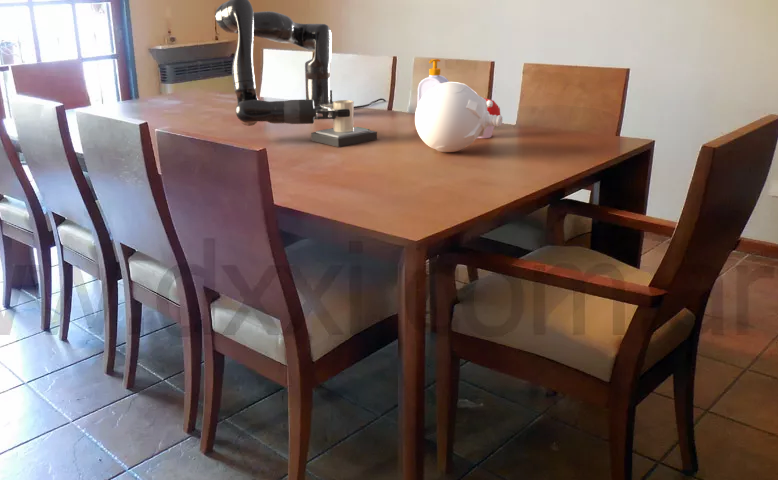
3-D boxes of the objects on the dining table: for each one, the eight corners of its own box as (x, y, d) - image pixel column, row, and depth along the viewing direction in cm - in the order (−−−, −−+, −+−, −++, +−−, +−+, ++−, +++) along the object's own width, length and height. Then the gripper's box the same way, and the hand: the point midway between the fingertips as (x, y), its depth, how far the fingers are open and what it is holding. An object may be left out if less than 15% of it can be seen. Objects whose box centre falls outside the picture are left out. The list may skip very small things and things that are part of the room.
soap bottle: (415, 131, 230) (417, 59, 220) (424, 127, 235) (427, 57, 225) (439, 133, 225) (442, 60, 215) (448, 129, 230) (452, 58, 221)
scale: (349, 133, 229) (349, 124, 228) (377, 139, 219) (377, 129, 218) (311, 140, 221) (311, 130, 219) (338, 147, 210) (338, 137, 209)
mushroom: (461, 133, 224) (463, 95, 219) (494, 132, 224) (497, 94, 219) (468, 140, 214) (470, 100, 209) (503, 138, 214) (506, 99, 209)
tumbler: (345, 127, 223) (344, 99, 219) (357, 130, 218) (357, 101, 214) (329, 130, 219) (329, 101, 215) (342, 133, 214) (341, 103, 211)
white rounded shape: (429, 142, 213) (432, 76, 205) (508, 149, 200) (515, 80, 192) (402, 155, 198) (404, 84, 190) (486, 163, 185) (492, 89, 177)
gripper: (296, 103, 209) (349, 102, 208) (300, 96, 222) (349, 95, 221) (297, 128, 212) (350, 126, 211) (300, 119, 225) (350, 118, 224)
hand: (349, 110), depth 216 cm, fingers open, 8 cm apart
